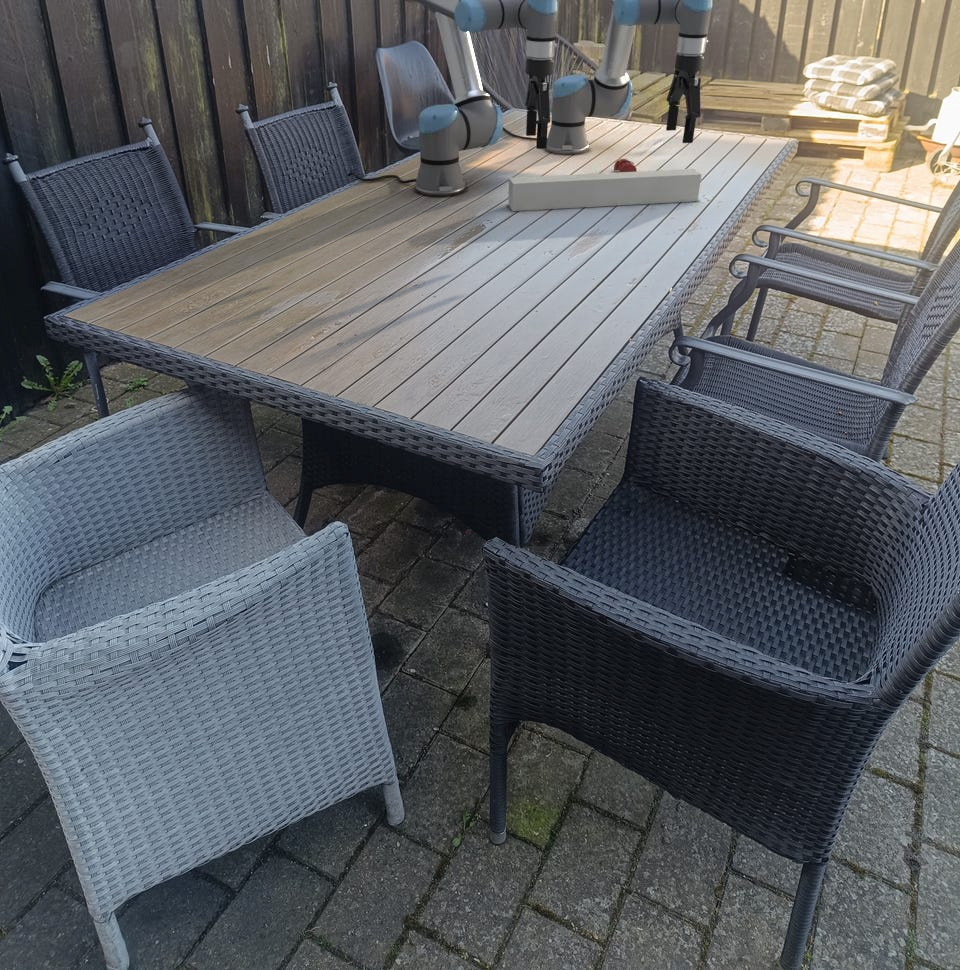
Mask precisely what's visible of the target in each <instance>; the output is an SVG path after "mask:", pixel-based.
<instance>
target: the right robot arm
mask: <svg viewBox="0 0 960 970" xmlns="http://www.w3.org/2000/svg"><path fill="white" fill-rule="evenodd" d="M607 2H608V3H610V4H611V11H610V18H609V22H608V29H607V33H606V37H605V43H604V49H603V53H602V59H601V64H600V67H599V68H598V69H596V70H595V72H594V77H593V79H589V78H588V76H587V75H585V74H570V75H565V76H562V77H559V78H557V79H556V80H554V83H553V86H552V94H551V97H552V100H551V101H552V102H551V120H550V128H549V131H548V133H547V148H546V149H545V151H547V152H549V153H553V154H558V155H578V154H579V155H580V154H584V153H586V152H588V151H589V147H590V146H589V140H588V137H587V136H588V135H587V131H586V118H591V117H608V116H609V117H615V116H620V115H623V114H625V113H626V112H627V110H628V109H629V107H630V105H631V101H632V98H633V93H632V92H633V83H632V81H631V79H630V76H629V74H628V73H627V69H628V63H629V60H630V54H631V50H632V46H633V41H634V36H635V32H636V27H637V26H648V25H679V31H678V36H677V37H678V38H677V43H676V49H675V50H676V52H677V54H676V55H675V60H674V61H675V62H674V72H673V78H672V81H671V84H670V87H669V90H668V93H667V96H666V102H667V103H668V112H667V119H666V120H667V121H666V127H665V130H666V131H669V132H670V131H677V124H678V117H679V109H680V106H681V102H680V101H681V100H682V97H683V96H684V98H685V105H686V106H685V108H686V116H685V117H684V120H685V121H684V128H683V135H682V144H693V143H694V136H695V129H696V123H697V119H698V118H701V113H702V112H701V82H702V79H701V77H697V73H698V72H701V71H702V70H703V68H704V62H705V56H704V53H705V52H706V46H707V44H708V42H709V40H708V34H709V33H708V32H709V27H710V20H711V14H712V9H713V0H607ZM502 131H504V132H505V133H507V134H508V135H510V136H511V137H513V138H518V139H522V140H530V141H537V137H531V136H521V135H518V134H515V133H513V132H511V131H510V130H508V129H506V128H505V127H504V126H503V130H502Z"/></svg>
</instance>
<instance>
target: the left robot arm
mask: <svg viewBox="0 0 960 970" xmlns="http://www.w3.org/2000/svg"><path fill="white" fill-rule="evenodd" d="M404 1H405V2H408V3H409V4H411V5H412V4H413V5H419V4H421V5H423V6H424V7H426V8H428V10H429V12H431V13H432V14H434V15H435V19H436V22H437V23H436V24H437V27H438V30H439V35H440V39H441V43H442V48H443V51H444V56H445V60H446V65H447V68H448V72H449V76H450V80H451V85H452V87H453V93H454V96H455V100H454V101H453V103H452V104H451V103H450V104H449V103H443V104H434V105H431V106H428V107H426V108H425V109H423V110H422V111H421V112H420V114H419V116H418V134H419V135H418V136H419V157H420V158H419V159H420V161H419V162H420V164H419V168H418V172H417V176H416V178H410V179H406V180H403V179H402V178H401V177H400V176H399V175H396V174H385V175H379V176H377V177H371V178H370V177H369V178H364V177H361V176H360V175H358V174H357V172H355V171H349V172H348V173H347V177H351V176H354V177H355V178H356V179H357V180H358V181H361V182H375V181H379V180H383V179H397V181H398V182H399V183H400V184H411V183H415V185H414V186H415V192H417V193H418V194H420V195H424V196H430V197H450V196H455V195H459V194H461V193H463V192H464V191H466V181H465V179H464V176H463V172H462V169H461V165H460V152H461V151H467V150H473V149H478V148H479V149H480V148H483V149H484V148H486V147H489V146H493V145H495V144H496V143H497V142H498V141H499V140H500V138H501V136H502V133H503V131H504V130H503V127H504V115H503V111H502V108H500V107H499V105H498V104H496V103H494V102H492V99H491V96H490V94H489V93H487V92H486V91H485V90H484V87H483V84H482V81H481V80H482V79H481V74H480V70H479V67H478V66H479V65H478V62H477V59H476V55H475V49H474V45H473V42H472V37H471V33H473V34H475V33H479V32H486V31H487V32H489V31H495V30H507V29H523V30H526V39H525V56H526V57H527V58H526V59H525V66H524V67H525V68H524V69H525V74H526V75H528V84H527V91H526V96H525V97H526V98H525V104H524V105H525V107H526V125H525V126H526V127H525V137H533V136H534V137H536V138H537V140H535V141H536V144H535V147H536V150H546V148H547V138H548V129H549V128H548V126H549V125H548V124H551V108H550V107H551V105H550V82H548V81H547V79H546V78H547V77H548V76H552V75H553V74H554V72H555V71H554V69H555V67H554V66H555V59H554V57H555V51H556V50H555V48H558V47H557V46H558V44H557V43H556V35H557V34H556V33H557V22H558V21H557V19H558V17H557V16H558V12H559V11H558V10H559V9H558V0H404ZM537 119H538V120H537Z"/></svg>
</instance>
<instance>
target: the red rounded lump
mask: <svg viewBox="0 0 960 970" xmlns="http://www.w3.org/2000/svg"><path fill="white" fill-rule="evenodd" d="M615 171H616V172H618V171H619V172H638V171H637V166H636V165H635V162H634V161H631V160H628V158H619V159H618V160H616V161H615V163H614V165H613V172H615Z"/></svg>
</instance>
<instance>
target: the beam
mask: <svg viewBox="0 0 960 970" xmlns="http://www.w3.org/2000/svg"><path fill="white" fill-rule="evenodd" d="M701 182H702V173H701V172H699V171H698V170H696V169H695V168H682V169H661V170H643V171H642V170H641V171H640V170H639V171H637V172H620V171H619V172H618V171H617V172H602V173H601V172H600V173H599V172H598V173H579V174H560V175H559V174H558V175H539V176H536V175H535V176H521V177H520V176H519V177H509V178H508V207H509V208H510V210H511V211H512V212H523V211H542V210H543V211H544V210H559V209H562V210H563V209H579V208H597V207H598V208H599V207H615V206H633V205H635V206H636V205H653V204H672V203H689V202H691V203H692V202H698V201H699V195H700V188H701Z"/></svg>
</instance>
